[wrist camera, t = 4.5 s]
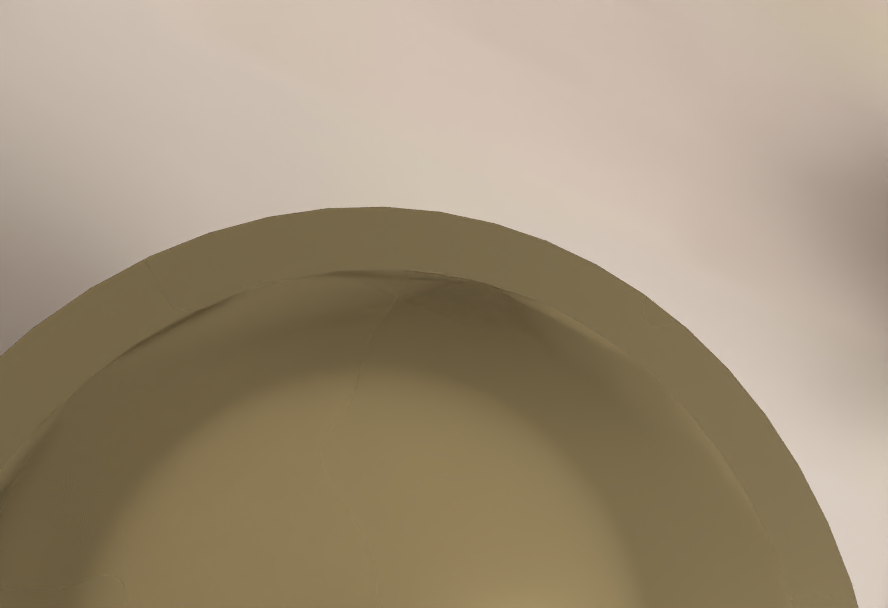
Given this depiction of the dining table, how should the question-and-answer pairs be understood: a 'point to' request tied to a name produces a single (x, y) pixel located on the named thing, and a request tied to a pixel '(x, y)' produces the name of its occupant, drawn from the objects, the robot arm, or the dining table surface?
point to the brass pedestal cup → (391, 435)
